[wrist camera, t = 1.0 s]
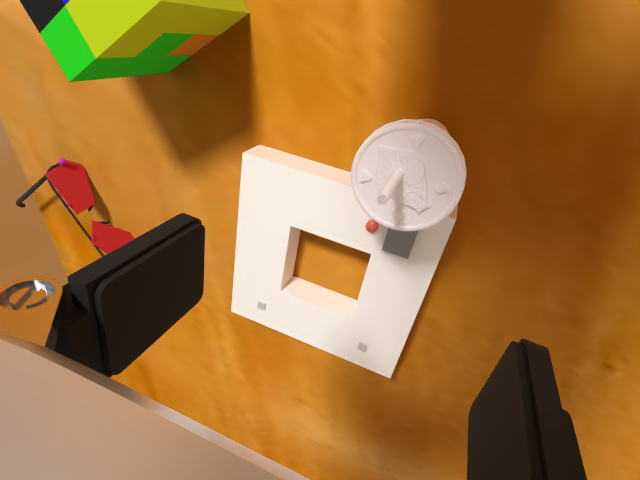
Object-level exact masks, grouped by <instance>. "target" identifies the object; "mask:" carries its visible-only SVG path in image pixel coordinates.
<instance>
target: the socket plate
mask: <svg viewBox="0 0 640 480" xmlns="http://www.w3.org/2000/svg"><path fill="white" fill-rule="evenodd" d="M457 210H458V205H456V207H455V208H454V210H453V211H452V212H451V213H450V214H449V215H448V216H447V217H446V218H445V219H444V220H442V221H441V222H439V223H438V224H436V225H434V226H432V227H429V228H427V229H423V230H418V231H399V230H394V229H390V228H387V227H385V226H383V225H381V224H379V223H377V222H376V221H374V220H373V219H372V218H370V217H369V216H368V215H367V214H366V213H365V212H364V211H363V209H362V208H361V207H360V205H359V203H358V202H357V200H356V198H355V195H354V192H353V189H352V183H351V172H348V171H345V170H341V169H338V168H335V167H332V166H328V165H325V164H322V163H318V162H315V161H312V160H309V159H305V158H302V157H299V156H296V155H292V154H289V153H286V152H282V151H279V150H276V149H273V148H269V147H266V146H263V145H258V146H256V147H254V148H252V149H249V150H247V151H245V152H243V156H242V170H241V183H240V197H239V211H238V225H237V239H236V253H235V266H234V280H233V294H232V308H231V311H232V312H234V313H236V314H239V315H241V316H243V317H246V318H248V319H250V320H253V321H255V322H258V323H260V324H262V325H265V326H267V327H269V328H272V329H274V330H276V331H279V332H281V333H284V334H286V335H288V336H291V337H293V338H295V339H298V340H300V341H302V342H305V343H307V344H310V345H312V346H314V347H317V348H319V349H321V350H324V351H326V352H328V353H331V354H333V355H336V356H338V357H340V358H343V359H345V360H347V361H350V362H352V363H354V364H357V365H359V366H362V367H364V368H366V369H369V370H371V371H373V372H376V373H378V374H380V375H383V376H385V377H388V378H391V375H392V373H393V371H394V368H395V366H396V363H397V361H398V359H399V356H400V354H401V351H402V349H403V347H404V344H405V342H406V339H407V337H408V335H409V332H410V330H411V327H412V325H413V323H414V320H415V318H416V315H417V313H418V311H419V308H420V306H421V303H422V301H423V299H424V296H425V294H426V291H427V289H428V286H429V284H430V282H431V279H432V277H433V274H434V272H435V270H436V267H437V265H438V262H439V260H440V258H441V255H442V253H443V250H444V248H445V246H446V243H447V241H448V238H449V236H450V234H451V231H452V229H453V226H454V224H455V222H456V218H457ZM301 230H304V231H306V232H309V233H312V234H315V235H318V236H321V237H323V238H326V239H329V240H332V241H335V242H338V243H341V244H343V245H346V246H349V247H352V248H355V249H358V250H360V251H363V252H366V253H369V254H371V257H370V260H369V263H368V267H367V270H366V273H365V277H364V280H363V284H362V287H361V290H360V294H359V297H358V300H355V299H352V298H350V297H347V296H344V295H342V294H339V293H337V292H334V291H331V290H329V289H326V288H323V287H321V286H318V285H316V284H313V283H310V282H308V281H305V280H303V279H300V278H297V277H295V276H293V272H294V266H295V261H296V255H297V249H298V243H299V238H300V232H301Z"/></svg>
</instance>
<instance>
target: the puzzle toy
mask: <svg viewBox="0 0 640 480" xmlns="http://www.w3.org/2000/svg"><path fill="white" fill-rule="evenodd" d="M20 2H21V3H22V5H23V7H24V8H25V10H26V12H27V13H28V15H29V16H30V18H31V20H32V21H33V23H34V25H35V26H36V28H37V29H38V31H39V33H40V34H41V36H42V38H43V39H44V41H45V42H46V44H47V46H48V47H49V49H50V51H51V52H52V54H53V55H54V57H55V59H56V60H57V62H58V64H59V65H60V67H61V69H62V70H63V72H64V73H65V75H66V77H67V78H68V80H69V82H74V81H85V80H96V79H107V78H117V77H128V76H139V75H150V74H161V73H169V72H170V71H171V70H173V69H174V68H175V67H177V66H178V65H179V64H181V63H182V62H184V61H185V60H186V59H188V58H189V57H190V56H192V55H193V54H194V53H196V52H197V51H199V50H200V49H201V48H203V47H204V46H205V45H207V44H208V43H209V42H211V41H212V40H214V39H215V38H216V37H218V36H219V35H220V34H222V33H223V32H224V31H226V30H227V29H229V28H230V27H231V26H233V25H234V24H235V23H237V22H238V21H239V20H241V19H242V18H244V17H245V16H246V15H248V14H249V13H250V12H249V10H248V8H247V6H246V4H245V1H244V0H20Z"/></svg>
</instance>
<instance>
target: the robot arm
mask: <svg viewBox="0 0 640 480" xmlns="http://www.w3.org/2000/svg"><path fill="white" fill-rule="evenodd" d="M204 247H205V228H204V226H203V225H202V223H201V220H200V219H198V218H195V217H192V216H190V215H187V214H184V213H181V214H179V215H177V216H175V217H173V218H172V219H170V220H168V221H166V222H164V223H163V224H161V225H159V226H157V227H155V228H154V229H152V230H150V231H148V232H146V233H145V234H143V235H141V236H139V237H137V238H136V239H134V240H132V241H130V242H129V243H127V244H125V245H123V246H121V247H120V248H118V249H116V250H114V251H112V252H111V253H109V254H107V255H105V256H103V257H102V258H100V259H98V260H96V261H94V262H93V263H91V264H89V265H87V266H85V267H84V268H82V269H80V270H78V271H76V272H75V273H73V274H71V275H69V276H67V277H68V282H69V283H67V284H66V285H64V286H62V285H61V284H60V282H58V281H57V280H55V279H53V278H49V277H38V276H35V277H27V278H22V279H19V280H15V281H12V282H10V283H8V284H6V285H4V286H2V287H1V288H0V480H309V479H307V478H305V477H303V476H301V475H299V474H298V473H296V472H294V471H292V470H290V469H288V468H286V467H284V466H282V465H280V464H278V463H276V462H274V461H272V460H270V459H268V458H266V457H264V456H263V455H261V454H259V453H257V452H255V451H253V450H251V449H249V448H247V447H245V446H243V445H241V444H239V443H237V442H235V441H233V440H231V439H229V438H227V437H225V436H223V435H221V434H219V433H218V432H216V431H214V430H212V429H210V428H208V427H206V426H204V425H202V424H200V423H198V422H196V421H194V420H192V419H190V418H188V417H186V416H184V415H182V414H180V413H178V412H176V411H174V410H172V409H170V408H168V407H166V406H164V405H162V404H160V403H158V402H156V401H154V400H152V399H150V398H149V397H147V396H145V395H143V394H141V393H139V392H137V391H135V390H133V389H131V388H129V387H127V386H125V385H123V384H121V383H119V382H117V381H115V380H113V379H111V378H110V377H111V376H112V375H117V374H120V373H121V372H122V371H123V370H124V369H125V368H127V367H128V366H129V365H130V364H131V363H132V362H133V361H134V360H135V359H136V358H138V357H139V356H140V355H141V354H142V353H143V352H144V351H145V350H146V349H147V348H149V347H150V346H151V345H152V344H153V343H154V342H155V341H156V340H157V339H158V338H160V337H161V336H162V335H163V334H164V333H165V332H166V331H167V330H168V329H169V328H171V327H172V326H173V325H174V324H175V323H176V322H177V321H178V320H179V319H180V318H182V317H183V316H184V315H185V314H186V313H187V312H188V311H189V310H190V309H191V308H193V307H194V306H195V305H196V304H197V303H198V302H199V301H200V299H201V297H202V295H203V285H204ZM467 480H587V478H586V474H585V470H584V466H583V462H582V458H581V454H580V450H579V446H578V442H577V438H576V434H575V430H574V426H573V422H572V419H571V417H570V414H569V413H568V412H567V411H565V410H563V409H562V406H561V402H560V397H559V393H558V389H557V384H556V380H555V376H554V372H553V367H552V363H551V359H550V354H549V351H548V349H547V348H546V347H544V346H541V345H539V344H536V343H533V342H530V341H528V340H525V339H522V340H521V341H519V343H517V342H514V341H512V342H511V343H510V345H509V346H508V348H507V349H506V351H505V353H504V354H503V356H502V357H501V359H500V361H499V362H498V364H497V366H496V367H495V369H494V370H493V372H492V374H491V375H490V377H489V378H488V380H487V382H486V383H485V385H484V387H483V388H482V390H481V391H480V393H479V395H478V396H477V398H476V400H475V401H474V403H473V405H472V407H471V409H470V413H469V425H468V464H467Z"/></svg>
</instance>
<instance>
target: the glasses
mask: <svg viewBox="0 0 640 480" xmlns="http://www.w3.org/2000/svg"><path fill="white" fill-rule="evenodd" d="M47 179H48V182H49V184H50V186H51V187H52V189H53V191H54V192H55V193H56V195H57V196H58V197H59V199H60V200H61V201H62V203H63V204H64V206H65V207H66V208H67V210H68V211H69V212H70V214H71V215H72V216H73V218H74V219H75V220H76V222H77V223H78V225H79V226H80V227H81V229H82V230H83V231H84V233H85V234H86V235H87V237H88V238H89V239H90V241H91V243H92V244H93V245H94V246H95V248H96V249H97V250H98V252H99V253H100V254H101V256H102V257H103V256H104V255H103V254H102V252H101V251H100V250H99V248H100V249H101V250H103V251H104V252H106V253H107V254H109V253H111V252H112V251H114V250H116V249H118V248H120V247H121V246H123V245H125V244H127V243H129V242H130V241H132V240H134V237H133V236H132V235H131V233H129V232H126V231H123V230H120V229H117V228H114V227H111V226H108V225H105V224H108V223H110V222H96V221H92V233H91V237H90V236H89V235H88V233H87V232H86V230H85V229H84V228H83V226H82V225H81V224H80V222H79V221H78V220H77V218H76V217H75V215H74V214H73V213H72V211H71V210H70V209H69V207H68V206H70V207H71V208H72V209H73V211H74V212H75V213H76V214H79V213H81V212H82V211H84V210H86V209H88V208H89V209H88V210H89V211H90V210H91V209H92V207H93V206H94V204H95V202H96V201H94V197H93V194H92V191H91V188H90V185H89V181H88V178H87V175H86V172H85V168H84V167H83V165H81V164H78V163H74V162H71V161H68V160H67V161H66V160H65V159H63V158H62V159H60V160H59V163H58V164H56V165H54V166H52V167H50V168H49V169H48V171H47V173H46V174H45V175H44V176H43V177H42V178H41V179H40V180H39V181H38V182H37V183H36V184H35V185H33V186H32V187H31V188H30V189H29V190H28V191H27V192H26V193H25V194H24V195H22V196H21V197H20V198H19V199H18V200H17V201H16V205H17V206H19V207H25V204H23V203H22V202H23V201H24V200H25V199H26V198H27V197H28V196H29V195H31V194H32V193H33V192H34V191H35V190H36V189H37V188H38V187H39V186H40V185H41V184H42V183H43V182H44V181H45V180H47ZM52 184H53V185H54V186H53V185H52ZM54 187H55V188H56V189H57V190H58V192H59V193H60V194H61V195H62V197H63V198H64V199H65V200H66V202H67V204H66V203H65V202H64V200H63V199H62V198H61V196H60V195H59V194H58V192H57V191H56V190H55V188H54ZM98 247H99V248H98Z"/></svg>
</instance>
